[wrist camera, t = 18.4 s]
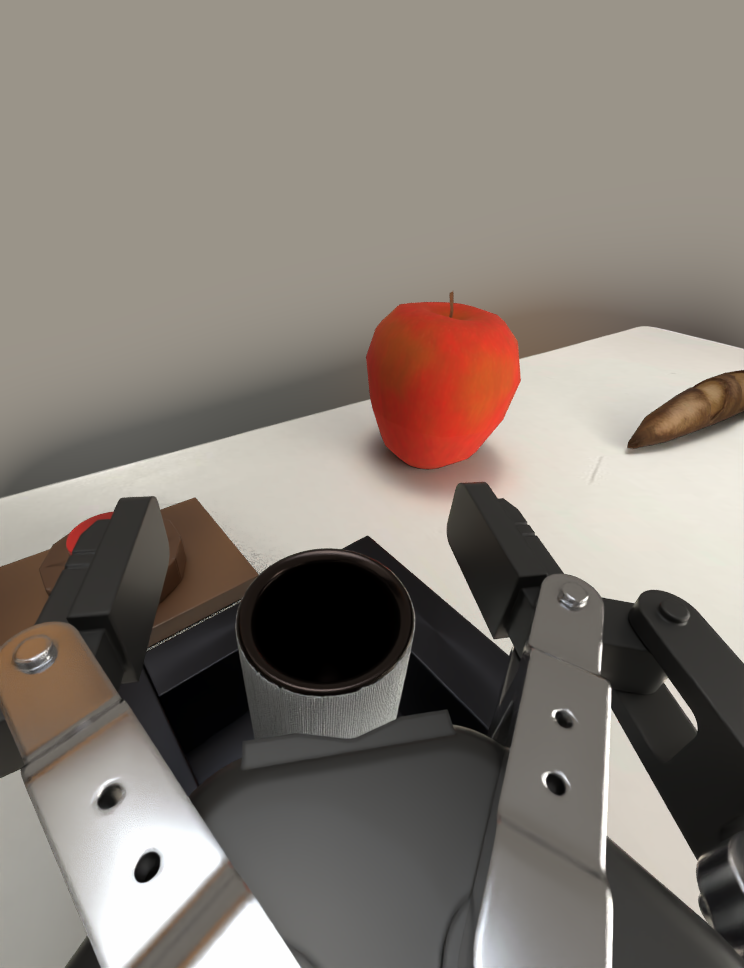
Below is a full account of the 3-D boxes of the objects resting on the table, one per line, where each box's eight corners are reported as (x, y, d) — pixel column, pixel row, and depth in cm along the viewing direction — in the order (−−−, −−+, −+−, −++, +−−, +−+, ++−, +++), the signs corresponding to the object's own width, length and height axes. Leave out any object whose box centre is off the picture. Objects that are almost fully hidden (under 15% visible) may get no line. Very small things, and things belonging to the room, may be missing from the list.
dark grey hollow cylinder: (378, 717, 19) (406, 547, 13) (385, 847, 15) (428, 695, 9) (273, 718, 19) (252, 544, 13) (255, 851, 15) (213, 696, 9)
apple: (453, 520, 32) (500, 326, 24) (330, 461, 37) (334, 285, 29) (513, 455, 40) (563, 295, 32) (406, 414, 46) (425, 268, 38)
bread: (649, 466, 41) (674, 418, 38) (601, 442, 44) (621, 396, 41) (793, 396, 59) (817, 360, 56) (752, 382, 62) (773, 348, 59)
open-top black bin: (228, 1221, 10) (188, 1284, 7) (92, 776, 17) (41, 706, 14) (543, 789, 18) (592, 725, 15) (361, 604, 25) (367, 534, 22)
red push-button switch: (12, 718, 19) (-19, 680, 17) (-14, 589, 24) (-39, 550, 22) (261, 588, 26) (257, 552, 24) (198, 510, 31) (191, 475, 29)
